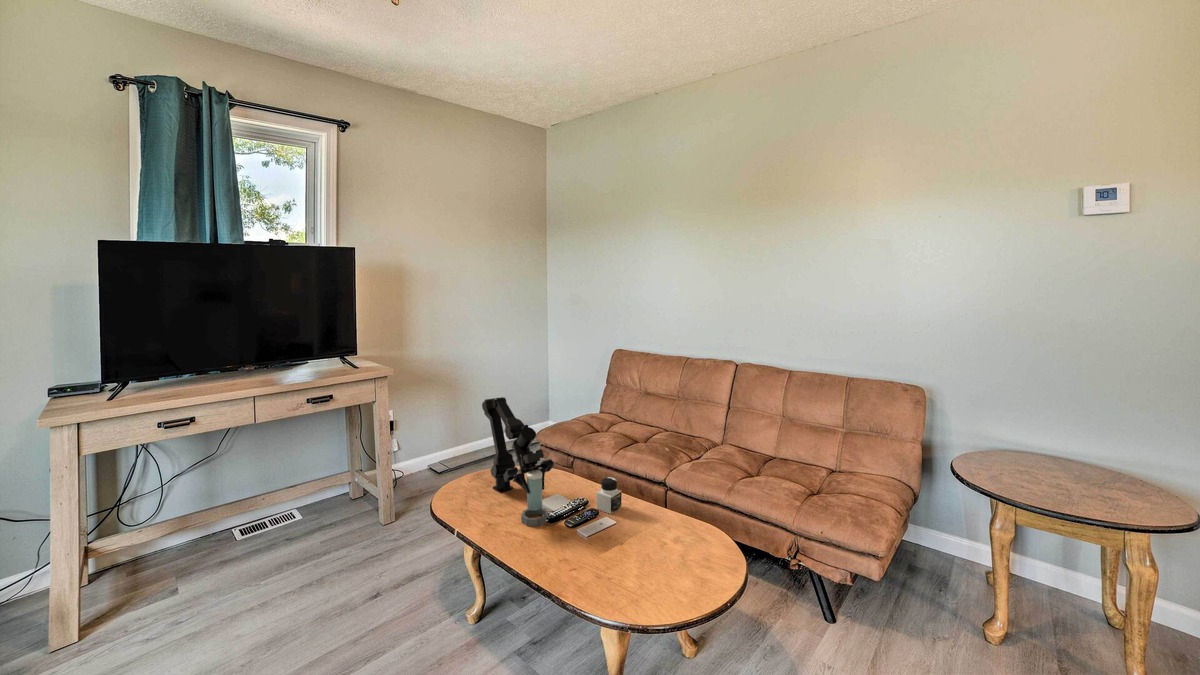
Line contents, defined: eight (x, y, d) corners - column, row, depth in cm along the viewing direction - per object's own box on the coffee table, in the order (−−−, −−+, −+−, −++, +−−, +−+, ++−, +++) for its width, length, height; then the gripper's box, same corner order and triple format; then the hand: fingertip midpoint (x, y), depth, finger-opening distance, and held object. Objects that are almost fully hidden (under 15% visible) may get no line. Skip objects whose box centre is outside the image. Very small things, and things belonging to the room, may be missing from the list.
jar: (524, 506, 181) (523, 473, 179) (536, 501, 185) (536, 469, 183) (533, 512, 177) (532, 477, 175) (545, 507, 181) (545, 473, 179)
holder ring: (517, 519, 182) (516, 512, 181) (537, 510, 188) (537, 504, 188) (532, 528, 175) (532, 522, 175) (553, 519, 181) (552, 513, 181)
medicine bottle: (611, 514, 185) (611, 484, 184) (596, 509, 189) (596, 480, 188) (621, 507, 191) (622, 478, 189) (607, 502, 195) (607, 474, 194)
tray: (537, 504, 193) (537, 501, 193) (557, 496, 200) (557, 493, 200) (563, 518, 182) (563, 515, 182) (583, 510, 189) (583, 507, 189)
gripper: (505, 447, 176) (518, 488, 168) (551, 438, 186) (566, 476, 178) (498, 461, 184) (510, 501, 176) (542, 452, 194) (556, 488, 186)
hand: (536, 491), depth 179 cm, fingers closed on jar, 5 cm apart
